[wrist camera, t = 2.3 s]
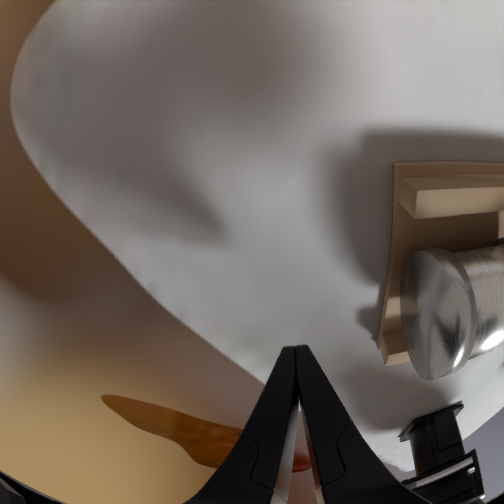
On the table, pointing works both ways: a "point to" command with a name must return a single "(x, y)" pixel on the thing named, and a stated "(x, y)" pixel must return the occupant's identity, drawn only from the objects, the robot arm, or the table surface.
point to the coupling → (452, 307)
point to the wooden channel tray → (437, 225)
